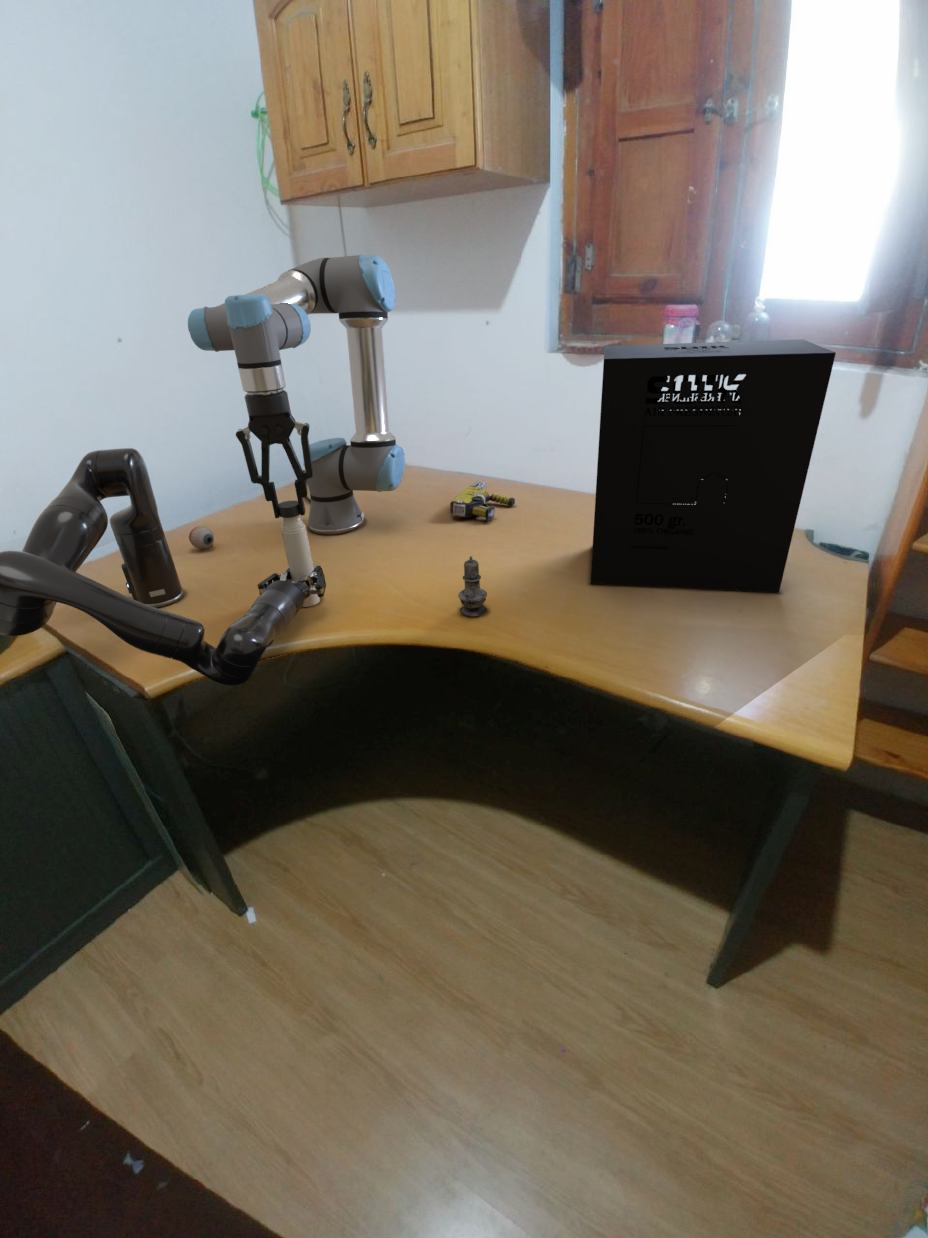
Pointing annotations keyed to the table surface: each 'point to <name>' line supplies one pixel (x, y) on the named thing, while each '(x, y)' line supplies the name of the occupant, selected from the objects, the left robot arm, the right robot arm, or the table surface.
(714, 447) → the cardboard box
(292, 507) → the cap
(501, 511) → the table surface
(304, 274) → the right robot arm
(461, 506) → the toy gun
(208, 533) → the eyeball
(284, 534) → the bottle
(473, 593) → the dark grey tall piece
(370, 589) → the table surface
